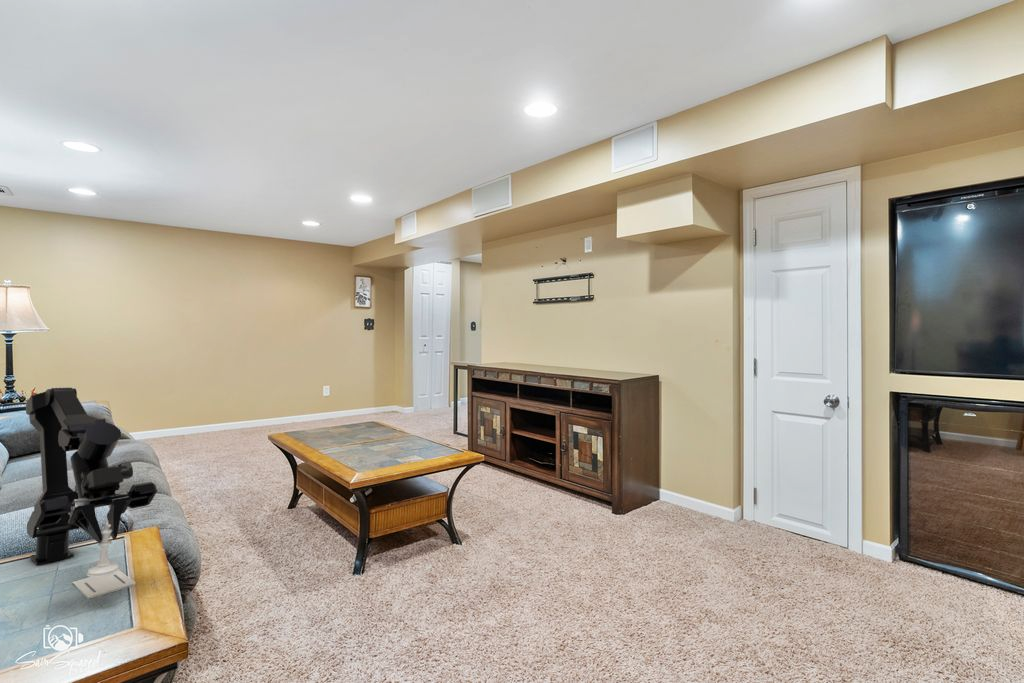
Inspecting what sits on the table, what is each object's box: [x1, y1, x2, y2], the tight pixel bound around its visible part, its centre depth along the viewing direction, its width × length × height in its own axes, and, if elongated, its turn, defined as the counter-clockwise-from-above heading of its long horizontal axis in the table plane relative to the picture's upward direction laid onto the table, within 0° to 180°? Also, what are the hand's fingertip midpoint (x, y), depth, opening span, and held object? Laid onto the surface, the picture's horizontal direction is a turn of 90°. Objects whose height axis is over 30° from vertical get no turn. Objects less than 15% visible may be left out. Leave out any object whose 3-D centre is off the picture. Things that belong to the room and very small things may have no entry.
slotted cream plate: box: [71, 569, 137, 600], centre depth 106 cm, size 10×8×1 cm
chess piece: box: [86, 520, 120, 578], centre depth 99 cm, size 5×5×10 cm
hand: (107, 540), depth 98 cm, fingers closed on chess piece
